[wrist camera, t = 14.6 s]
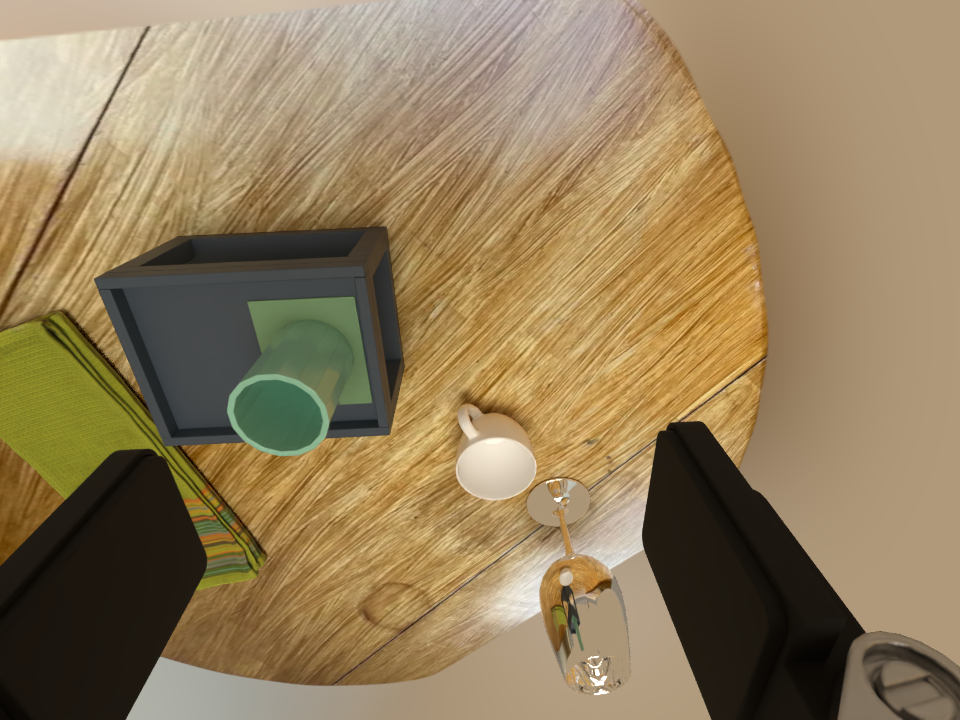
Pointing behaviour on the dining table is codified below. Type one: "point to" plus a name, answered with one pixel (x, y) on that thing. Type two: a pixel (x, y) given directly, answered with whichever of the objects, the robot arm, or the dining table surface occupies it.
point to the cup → (493, 455)
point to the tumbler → (292, 389)
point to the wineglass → (580, 599)
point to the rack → (254, 322)
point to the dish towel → (101, 432)
